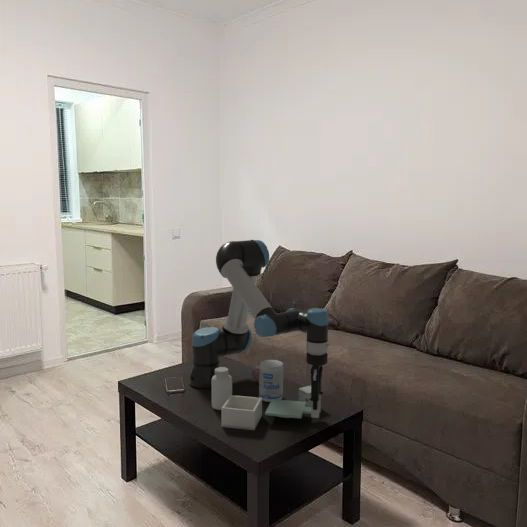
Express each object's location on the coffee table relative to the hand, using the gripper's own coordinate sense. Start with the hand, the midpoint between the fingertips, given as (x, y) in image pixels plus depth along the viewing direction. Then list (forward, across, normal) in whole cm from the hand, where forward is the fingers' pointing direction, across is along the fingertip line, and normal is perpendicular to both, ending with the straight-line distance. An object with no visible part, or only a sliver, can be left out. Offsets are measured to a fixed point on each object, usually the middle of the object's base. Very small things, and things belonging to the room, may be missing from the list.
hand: (315, 414), depth 188 cm
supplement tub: (+3, +17, +20) cm, 26 cm away
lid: (0, 0, +8) cm, 8 cm away
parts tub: (+3, -6, +26) cm, 27 cm away
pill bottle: (+3, +5, +37) cm, 38 cm away
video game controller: (+3, +36, +29) cm, 46 cm away
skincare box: (+3, +12, +4) cm, 13 cm away
